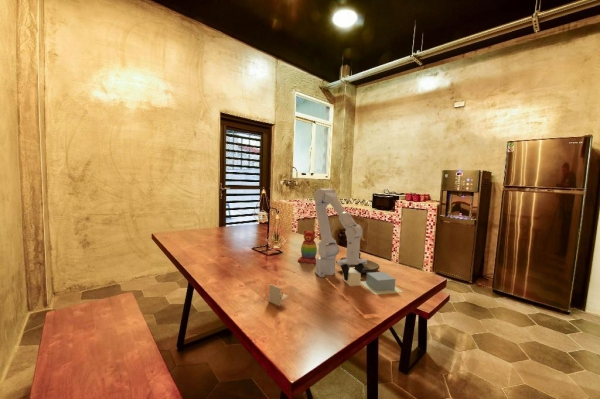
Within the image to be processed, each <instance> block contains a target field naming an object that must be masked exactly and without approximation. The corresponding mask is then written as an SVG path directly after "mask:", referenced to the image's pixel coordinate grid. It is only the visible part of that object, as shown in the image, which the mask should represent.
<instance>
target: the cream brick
mask: <svg viewBox="0 0 600 399" xmlns="http://www.w3.org/2000/svg"><path fill="white" fill-rule="evenodd" d="M361 276H362V273H359V272H358V271H356V270H355V269H354V268H352V267H350V269H349V272H348V280H347V281H346V280H345V279H344V275H343V274H342V278H341V279H342V280H343V281H344V283H345V284H347V285H348V286H349V287H357V286H361V283H360V281H361Z"/></svg>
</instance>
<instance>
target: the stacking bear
mask: <svg viewBox="0 0 600 399" xmlns="http://www.w3.org/2000/svg"><path fill="white" fill-rule="evenodd" d="M315 238H316V232H315V231H311V230H304V231H303V241H302V244H301V247H300V252H301V253H300V254H301V256H300V257H299V258H298V259H297V262H298V263H305V264H311V265H316V259H317V257H316V256H317V253H318V248H317V243H316V241H315Z"/></svg>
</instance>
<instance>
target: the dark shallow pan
mask: <svg viewBox="0 0 600 399" xmlns="http://www.w3.org/2000/svg"><path fill="white" fill-rule="evenodd" d="M344 259H346V256H345V257H341V258H340V260H344ZM359 259H362V258H361V252H360V251H359ZM366 260H367V264H363V265H364V268H363V270H362V271H361V274H367V273H372V272H375V271H377V270H378V271H379V269H380V264H378V263H377V262H375V261H372V260H369V259H366ZM337 261H338V260H335V264H337ZM347 266H348V267H349V268H352V267H355V265H354V264H353V265H347ZM354 269H355V268H354Z"/></svg>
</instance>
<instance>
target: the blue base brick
mask: <svg viewBox="0 0 600 399" xmlns="http://www.w3.org/2000/svg"><path fill="white" fill-rule="evenodd" d="M365 281H366V284H368V285H369V286H370V287H372V288H373V289H374V290H376V291H377V292H379V291H388V290H395V287H396V278H394V277H393V276H391V275H390V274H389V273H387V272H385V271H376V272H375V271H372V272H368V273H366V280H365Z"/></svg>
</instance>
